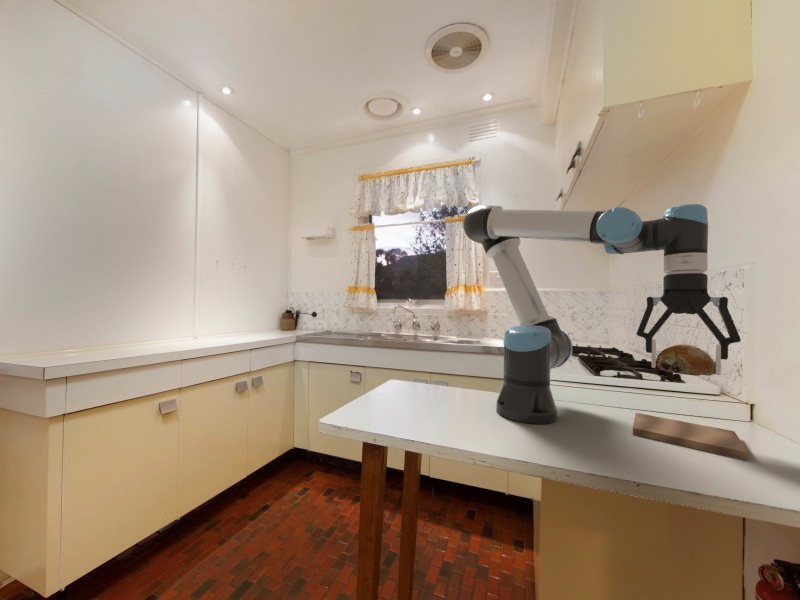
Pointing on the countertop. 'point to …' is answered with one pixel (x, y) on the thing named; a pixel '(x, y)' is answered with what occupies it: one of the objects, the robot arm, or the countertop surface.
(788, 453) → the countertop surface
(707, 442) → the cutting board
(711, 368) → the bread roll
